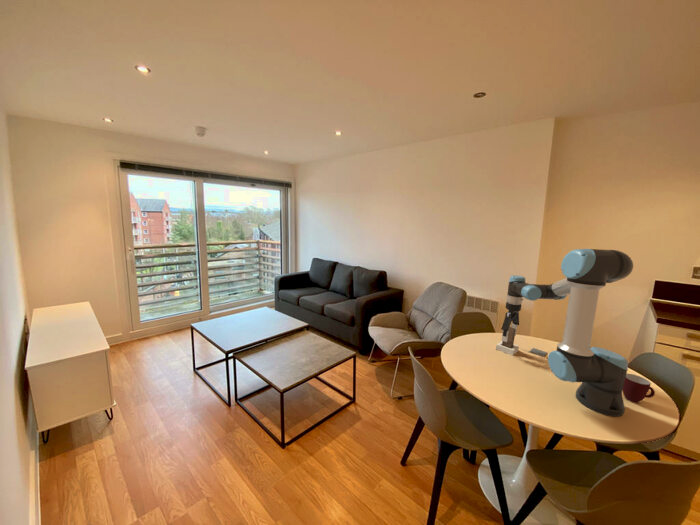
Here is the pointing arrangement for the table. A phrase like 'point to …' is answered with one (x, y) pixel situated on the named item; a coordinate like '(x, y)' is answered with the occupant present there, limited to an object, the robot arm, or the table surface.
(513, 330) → the peg
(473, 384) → the table surface
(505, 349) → the socket block
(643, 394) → the mug
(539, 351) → the mat
